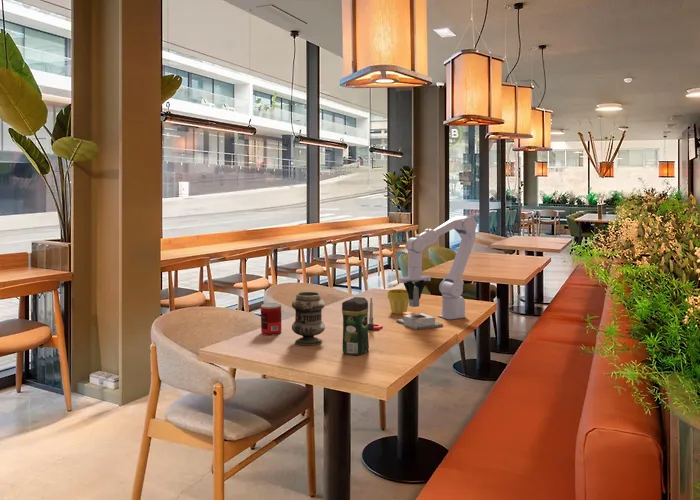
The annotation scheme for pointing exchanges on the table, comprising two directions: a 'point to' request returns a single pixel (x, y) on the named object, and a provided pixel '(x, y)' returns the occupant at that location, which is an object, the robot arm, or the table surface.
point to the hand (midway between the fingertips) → (414, 299)
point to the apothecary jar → (308, 317)
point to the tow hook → (370, 324)
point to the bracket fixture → (418, 321)
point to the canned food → (271, 319)
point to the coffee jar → (355, 326)
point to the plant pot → (398, 300)
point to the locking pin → (415, 298)
